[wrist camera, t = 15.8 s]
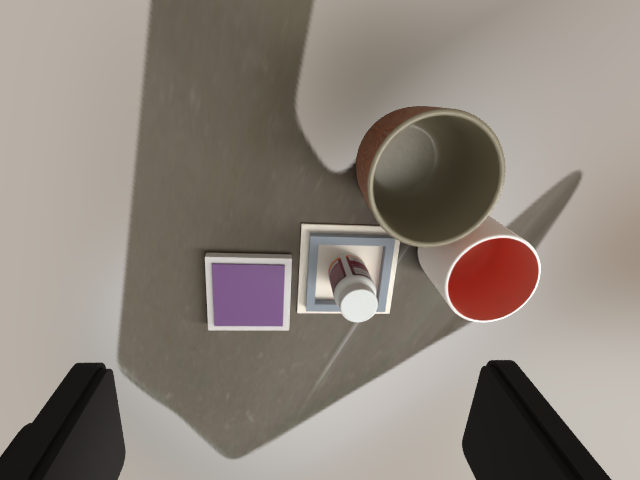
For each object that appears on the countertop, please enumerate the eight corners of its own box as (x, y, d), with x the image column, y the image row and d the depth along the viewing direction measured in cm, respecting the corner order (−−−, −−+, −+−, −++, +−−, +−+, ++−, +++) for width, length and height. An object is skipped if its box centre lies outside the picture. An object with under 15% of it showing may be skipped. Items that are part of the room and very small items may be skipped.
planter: (332, 194, 46) (347, 227, 36) (372, 84, 42) (400, 86, 32) (428, 223, 48) (467, 262, 38) (475, 122, 44) (531, 136, 34)
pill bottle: (334, 292, 50) (344, 331, 43) (322, 260, 49) (330, 295, 41) (370, 280, 50) (386, 317, 43) (359, 247, 48) (374, 280, 41)
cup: (448, 189, 47) (489, 216, 38) (509, 229, 50) (561, 264, 40) (398, 256, 50) (425, 297, 41) (458, 291, 52) (496, 337, 43)
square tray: (301, 223, 47) (302, 227, 46) (401, 226, 48) (405, 230, 47) (297, 311, 51) (297, 318, 50) (388, 312, 53) (391, 318, 51)
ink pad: (206, 252, 47) (204, 257, 46) (291, 254, 48) (292, 259, 47) (209, 324, 51) (207, 331, 50) (288, 324, 52) (289, 331, 51)
